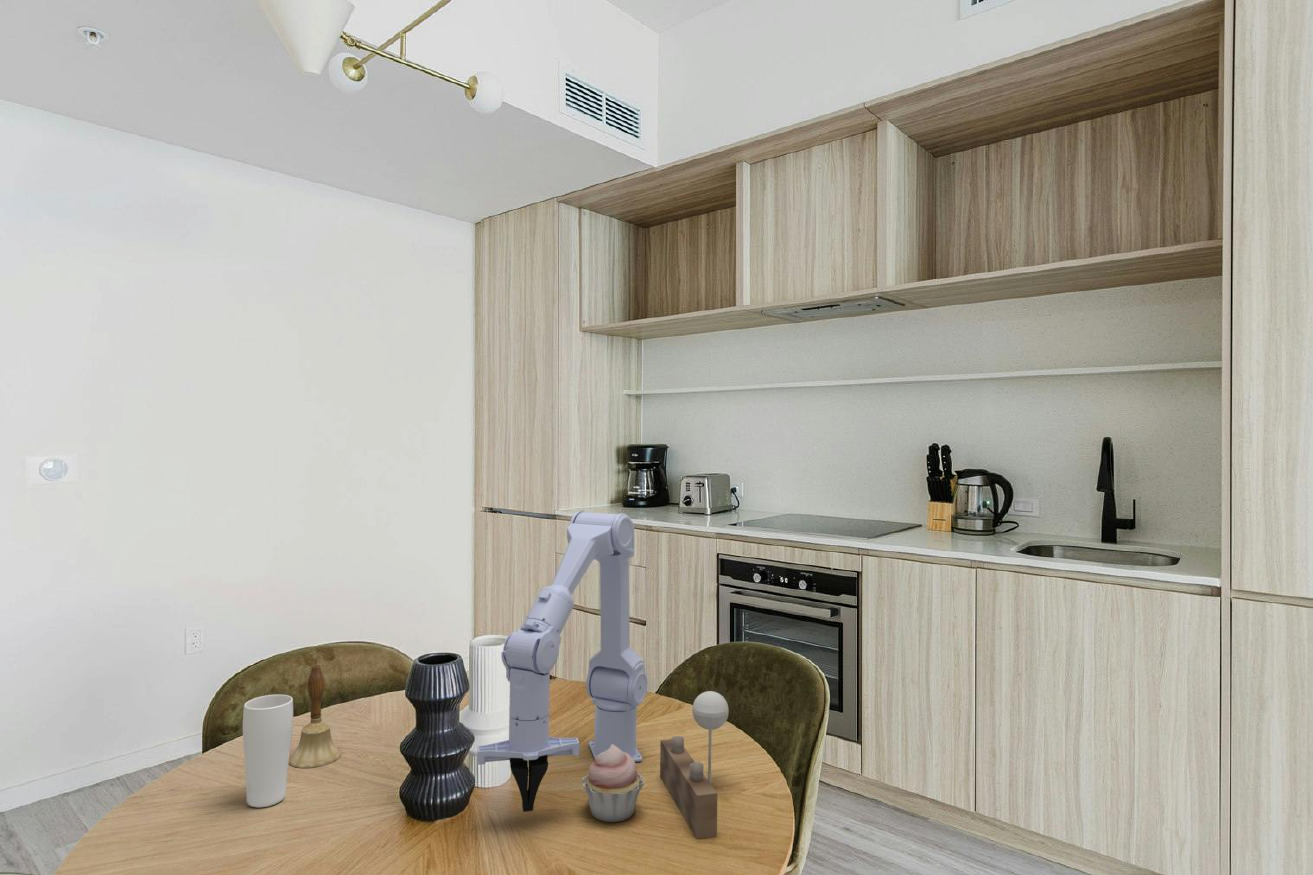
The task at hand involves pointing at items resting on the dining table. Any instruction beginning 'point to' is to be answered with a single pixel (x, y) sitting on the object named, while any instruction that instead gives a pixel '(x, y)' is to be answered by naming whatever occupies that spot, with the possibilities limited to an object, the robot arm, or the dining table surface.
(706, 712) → the lollipop
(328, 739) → the hand bell
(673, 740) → the bar
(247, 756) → the drinking glass
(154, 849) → the dining table surface
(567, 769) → the dining table surface
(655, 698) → the dining table surface
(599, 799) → the cupcake
